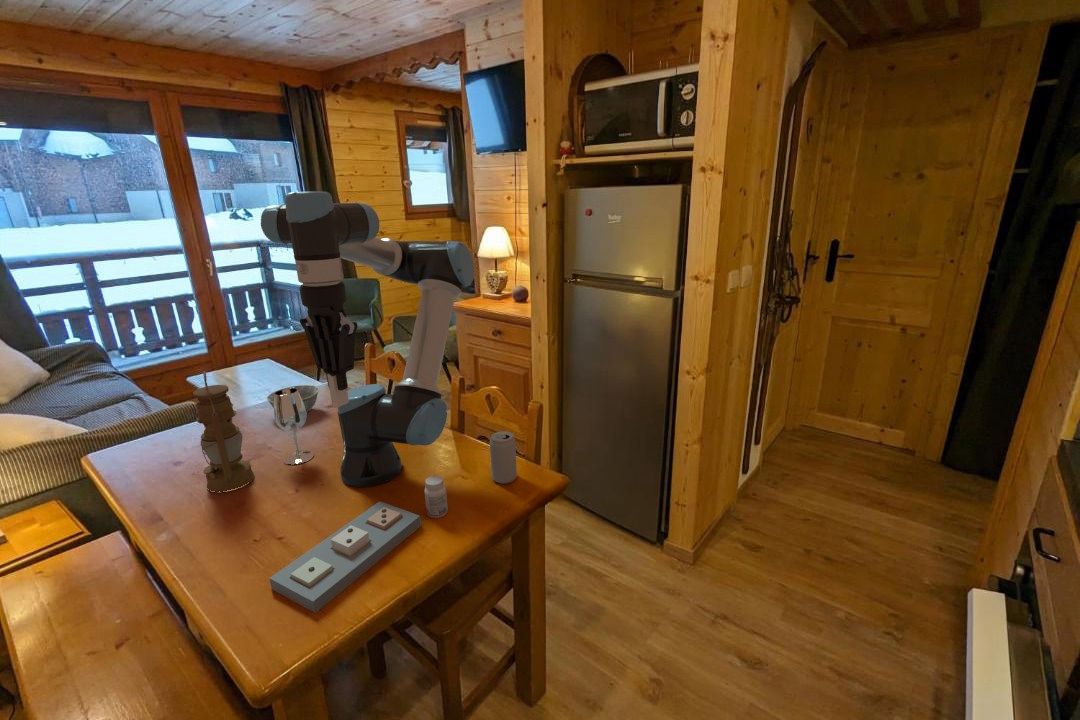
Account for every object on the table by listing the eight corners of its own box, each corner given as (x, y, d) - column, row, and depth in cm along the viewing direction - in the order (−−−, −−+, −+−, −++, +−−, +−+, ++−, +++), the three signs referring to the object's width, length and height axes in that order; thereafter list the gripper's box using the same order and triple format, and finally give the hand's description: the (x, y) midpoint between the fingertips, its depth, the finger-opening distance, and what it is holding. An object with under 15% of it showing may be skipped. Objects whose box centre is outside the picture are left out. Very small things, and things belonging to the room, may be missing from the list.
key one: (311, 595, 88) (308, 582, 87) (293, 585, 91) (290, 572, 90) (334, 577, 92) (331, 564, 92) (316, 568, 95) (313, 556, 94)
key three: (385, 537, 103) (383, 525, 102) (368, 530, 106) (366, 518, 105) (402, 523, 107) (400, 512, 107) (385, 517, 110) (383, 506, 109)
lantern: (196, 481, 127) (167, 371, 118) (239, 464, 135) (215, 360, 125) (221, 501, 118) (191, 384, 109) (265, 482, 126) (241, 371, 117)
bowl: (259, 422, 161) (255, 401, 158) (290, 403, 176) (287, 383, 173) (304, 424, 158) (300, 403, 156) (331, 405, 173) (328, 385, 171)
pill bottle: (428, 506, 114) (424, 474, 112) (448, 505, 115) (446, 473, 112) (425, 519, 110) (421, 486, 107) (447, 517, 110) (444, 485, 108)
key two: (350, 558, 95) (348, 546, 95) (332, 550, 98) (330, 538, 97) (370, 543, 100) (368, 531, 99) (352, 536, 102) (350, 524, 101)
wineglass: (276, 462, 135) (262, 395, 129) (299, 449, 142) (287, 384, 136) (298, 467, 132) (284, 398, 126) (320, 454, 139) (308, 388, 133)
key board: (315, 613, 85) (312, 601, 84) (271, 589, 91) (269, 578, 90) (421, 525, 108) (419, 515, 107) (381, 510, 113) (379, 501, 112)
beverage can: (513, 486, 122) (511, 442, 118) (488, 484, 123) (485, 440, 119) (519, 473, 128) (518, 431, 124) (495, 470, 129) (493, 429, 125)
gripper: (279, 283, 88) (301, 405, 95) (329, 288, 82) (348, 417, 89) (315, 277, 94) (333, 392, 101) (363, 281, 88) (379, 403, 95)
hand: (340, 404), depth 95 cm, fingers closed
